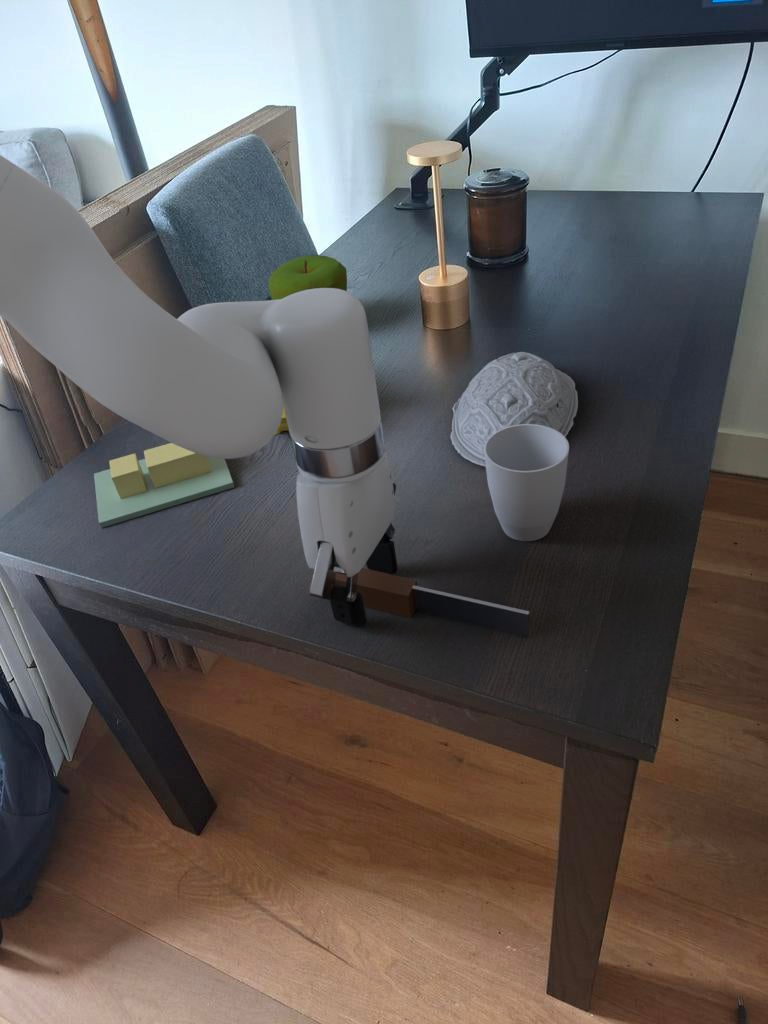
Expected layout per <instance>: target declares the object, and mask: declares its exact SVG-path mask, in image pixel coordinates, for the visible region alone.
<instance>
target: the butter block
mask: <svg viewBox="0 0 768 1024" xmlns="http://www.w3.org/2000/svg"><path fill="white" fill-rule="evenodd" d="M143 454H144V459H145V460H146V464H147V469H148V471H149V474H150V476H151V479H152V481H153V484H154V487H155V488H159V487H162V486H165V485H169V484H172V483H175V482H179V481H182V480H185V479H189V478H192V477H195V476H199V475H202V474H205V473H209V472H211V467H210V464H209V461H208V458H207V456H204V455H201V454H197V453H194V452H192V451H189V450H187V449H184V448H182V447H180V446H177V445H175V444H173V443H171V442H169V443H166V444H163V445H159V446H156V447H152V448H148V449H145V450H143Z"/></svg>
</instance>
